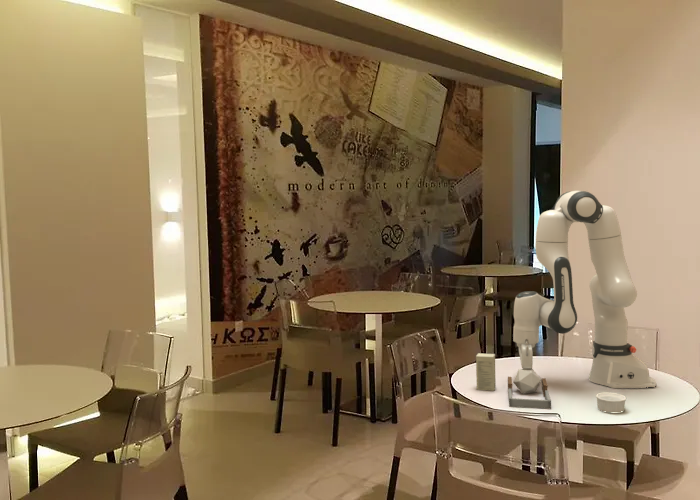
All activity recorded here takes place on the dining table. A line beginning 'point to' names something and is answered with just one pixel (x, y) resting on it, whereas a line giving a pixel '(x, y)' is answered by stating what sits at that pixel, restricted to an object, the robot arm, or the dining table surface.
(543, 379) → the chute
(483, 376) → the skincare box
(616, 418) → the dining table surface
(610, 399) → the ramekin
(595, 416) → the dining table surface
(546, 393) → the tray
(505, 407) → the dining table surface
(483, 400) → the dining table surface
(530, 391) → the die
